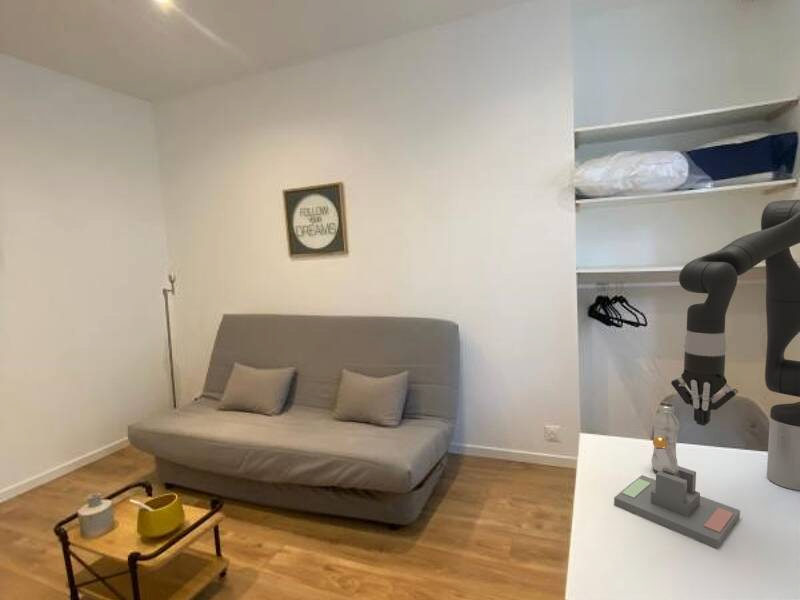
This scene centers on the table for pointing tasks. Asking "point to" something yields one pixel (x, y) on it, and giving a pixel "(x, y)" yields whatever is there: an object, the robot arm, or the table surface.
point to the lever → (665, 456)
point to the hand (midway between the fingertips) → (701, 423)
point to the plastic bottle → (665, 431)
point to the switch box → (679, 506)
